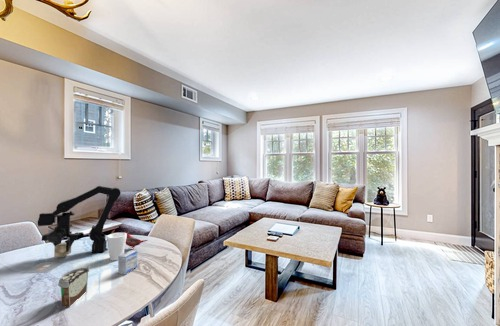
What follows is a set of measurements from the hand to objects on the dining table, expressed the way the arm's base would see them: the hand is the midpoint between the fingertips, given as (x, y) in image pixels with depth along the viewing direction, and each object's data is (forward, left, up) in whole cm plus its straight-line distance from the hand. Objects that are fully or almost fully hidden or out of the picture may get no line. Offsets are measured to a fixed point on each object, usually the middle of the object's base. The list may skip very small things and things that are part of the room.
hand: (62, 251), depth 122 cm
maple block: (0, 0, -2) cm, 2 cm away
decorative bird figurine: (-34, -11, -4) cm, 36 cm away
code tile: (0, +12, -3) cm, 12 cm away
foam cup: (-30, +2, -4) cm, 30 cm away
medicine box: (-43, +17, -4) cm, 46 cm away
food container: (-32, +40, -4) cm, 51 cm away
